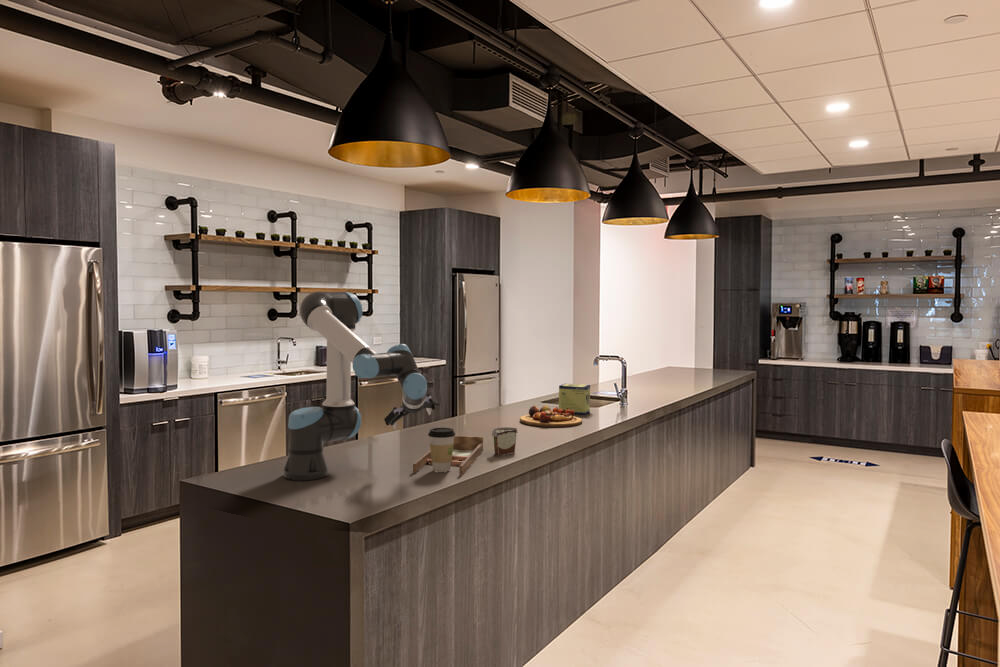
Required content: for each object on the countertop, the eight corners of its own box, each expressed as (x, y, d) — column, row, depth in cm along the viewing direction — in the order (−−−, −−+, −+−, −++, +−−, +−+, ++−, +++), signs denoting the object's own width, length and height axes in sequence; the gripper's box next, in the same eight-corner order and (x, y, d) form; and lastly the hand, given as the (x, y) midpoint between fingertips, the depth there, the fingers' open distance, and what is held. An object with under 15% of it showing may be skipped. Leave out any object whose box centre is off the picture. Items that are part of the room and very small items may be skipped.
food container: (506, 449, 284) (507, 425, 283) (517, 452, 279) (517, 428, 279) (485, 454, 275) (485, 429, 275) (495, 456, 271) (496, 431, 270)
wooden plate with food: (563, 431, 327) (564, 413, 327) (507, 423, 344) (508, 406, 344) (592, 422, 354) (593, 406, 353) (539, 415, 371) (539, 400, 371)
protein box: (585, 415, 370) (586, 386, 370) (558, 413, 376) (558, 385, 375) (590, 412, 380) (590, 384, 379) (563, 410, 386) (563, 383, 385)
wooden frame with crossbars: (413, 473, 244) (413, 456, 244) (440, 449, 283) (440, 434, 283) (462, 475, 241) (462, 459, 241) (483, 451, 280) (483, 436, 280)
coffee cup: (460, 470, 249) (460, 429, 248) (440, 475, 241) (440, 433, 241) (442, 465, 255) (442, 426, 255) (422, 470, 248) (422, 429, 247)
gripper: (382, 422, 225) (382, 440, 244) (451, 395, 233) (446, 414, 252) (374, 402, 228) (375, 422, 247) (443, 376, 235) (438, 397, 254)
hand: (411, 418), depth 249 cm, fingers open, 13 cm apart
